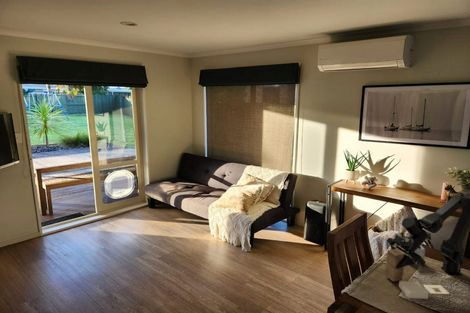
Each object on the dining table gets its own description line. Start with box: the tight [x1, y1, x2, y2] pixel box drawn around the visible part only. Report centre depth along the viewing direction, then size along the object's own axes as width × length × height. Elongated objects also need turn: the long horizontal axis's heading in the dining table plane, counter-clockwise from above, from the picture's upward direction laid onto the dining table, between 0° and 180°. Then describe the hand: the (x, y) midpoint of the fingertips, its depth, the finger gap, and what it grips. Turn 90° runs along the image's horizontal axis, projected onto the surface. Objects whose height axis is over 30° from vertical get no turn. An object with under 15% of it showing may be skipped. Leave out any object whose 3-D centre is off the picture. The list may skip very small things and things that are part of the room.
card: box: [422, 284, 450, 295], centre depth 131 cm, size 8×6×1 cm
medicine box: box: [403, 245, 426, 265], centre depth 153 cm, size 8×4×9 cm, turn 84°
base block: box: [398, 280, 429, 300], centre depth 130 cm, size 8×8×3 cm
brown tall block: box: [384, 249, 405, 282], centre depth 137 cm, size 5×5×13 cm
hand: (392, 264), depth 137 cm, fingers closed on brown tall block, 5 cm apart
